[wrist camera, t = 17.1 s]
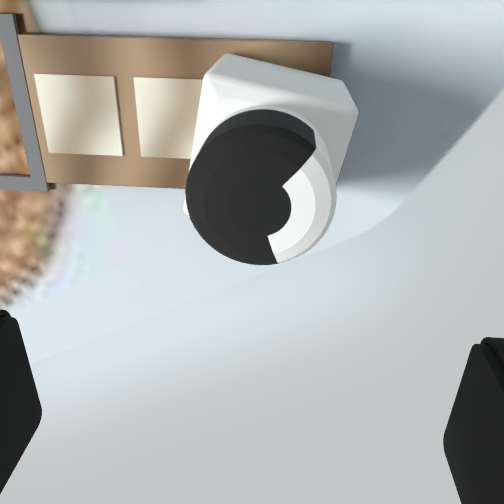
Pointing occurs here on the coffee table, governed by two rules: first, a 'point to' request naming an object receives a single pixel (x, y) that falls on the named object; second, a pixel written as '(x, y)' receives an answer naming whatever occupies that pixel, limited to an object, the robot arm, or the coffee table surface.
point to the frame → (21, 112)
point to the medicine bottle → (266, 158)
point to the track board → (132, 100)
